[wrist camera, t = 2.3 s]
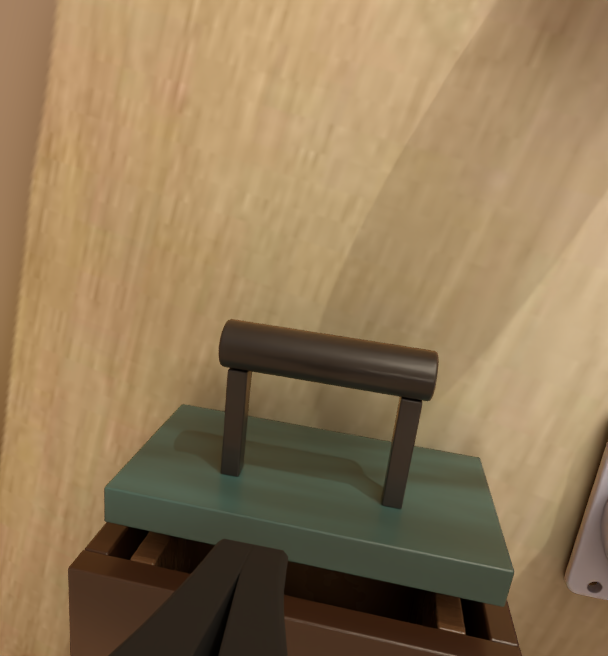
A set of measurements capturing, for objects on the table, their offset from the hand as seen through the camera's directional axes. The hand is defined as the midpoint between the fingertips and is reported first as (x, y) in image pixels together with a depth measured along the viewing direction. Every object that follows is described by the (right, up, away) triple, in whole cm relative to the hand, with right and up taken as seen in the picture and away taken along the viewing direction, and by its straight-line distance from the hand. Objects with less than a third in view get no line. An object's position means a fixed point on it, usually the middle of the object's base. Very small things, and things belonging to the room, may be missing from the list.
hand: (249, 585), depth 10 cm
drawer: (+1, -4, +11) cm, 11 cm away
